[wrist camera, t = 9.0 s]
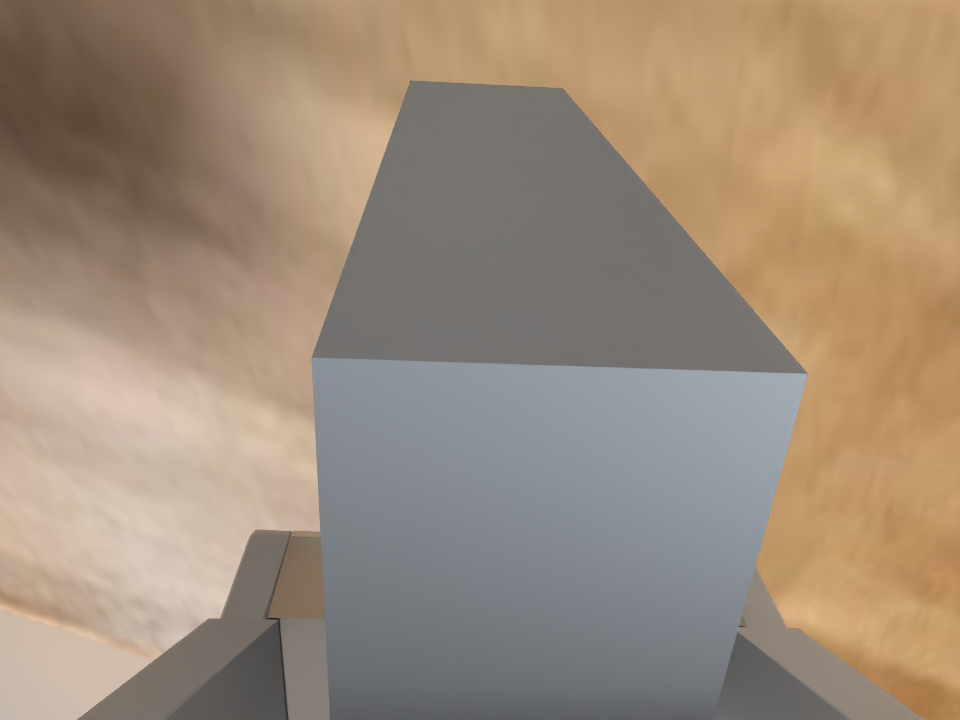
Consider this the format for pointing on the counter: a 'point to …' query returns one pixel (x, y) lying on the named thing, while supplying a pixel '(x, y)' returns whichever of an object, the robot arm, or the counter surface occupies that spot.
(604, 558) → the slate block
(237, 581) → the robot arm
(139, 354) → the counter surface
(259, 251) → the counter surface
